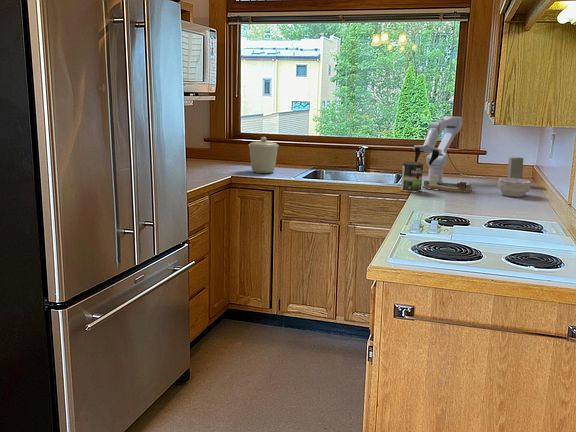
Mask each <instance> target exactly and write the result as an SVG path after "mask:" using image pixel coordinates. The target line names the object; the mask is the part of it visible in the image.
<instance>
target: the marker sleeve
mask: <svg viewBox="0 0 576 432" xmlns="http://www.w3.org/2000/svg"><path fill="white" fill-rule="evenodd" d="M437 182H438V175H430V179H429V184H428V185H429V186H433V187H437V186H439V185H438V184H437Z"/></svg>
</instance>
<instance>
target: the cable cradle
mask: <svg viewBox="0 0 576 432" xmlns="http://www.w3.org/2000/svg"><path fill="white" fill-rule="evenodd" d="M428 183H429V181H428V179H427V180H423V186H422V185H421V187H423V188H430V189H438V190H437V191H439V190H445V191H444V192H448V191H452V192H451V193H458V192H460V194H470V193H471V192H473V188H472V184H467V181H466V182H465V181H460V182H457V183H452V182H451V183H449V182H444V183H442V182H437V184H440V185H438V186H437V187H433V186H429V184H428ZM445 185H446V186H445ZM430 189H429V190H430Z"/></svg>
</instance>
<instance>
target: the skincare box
mask: <svg viewBox="0 0 576 432" xmlns="http://www.w3.org/2000/svg"><path fill="white" fill-rule="evenodd" d="M523 170H524V157H521V156H508V164H507V178H516V179H523V173H524V172H523Z"/></svg>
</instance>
